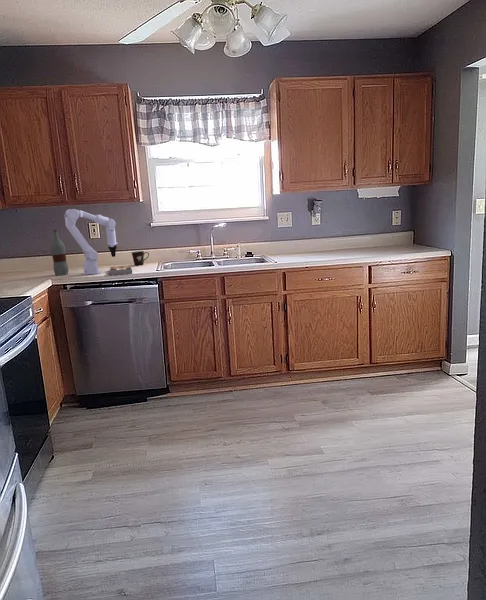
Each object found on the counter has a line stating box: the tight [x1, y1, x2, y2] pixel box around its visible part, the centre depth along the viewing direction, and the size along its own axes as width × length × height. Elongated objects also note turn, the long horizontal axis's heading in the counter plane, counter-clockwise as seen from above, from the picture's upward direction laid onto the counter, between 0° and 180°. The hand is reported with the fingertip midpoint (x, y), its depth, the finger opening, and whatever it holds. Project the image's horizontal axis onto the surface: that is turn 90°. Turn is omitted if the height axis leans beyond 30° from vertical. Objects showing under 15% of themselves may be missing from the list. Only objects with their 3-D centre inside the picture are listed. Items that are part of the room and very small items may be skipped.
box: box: [109, 266, 133, 276], centre depth 303 cm, size 14×10×3 cm
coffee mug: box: [131, 250, 150, 267], centre depth 337 cm, size 12×9×10 cm
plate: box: [109, 264, 132, 271], centre depth 314 cm, size 14×12×2 cm
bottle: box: [50, 229, 69, 277], centre depth 309 cm, size 9×9×30 cm
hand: (113, 256), depth 316 cm, fingers closed
